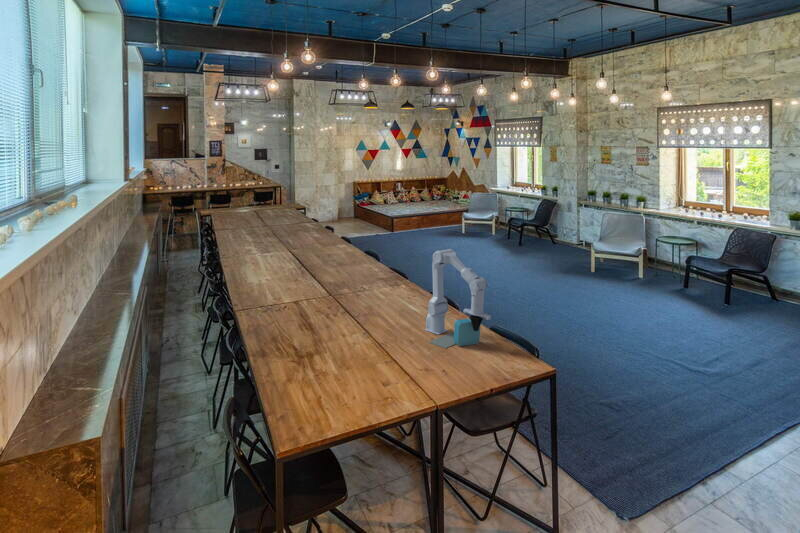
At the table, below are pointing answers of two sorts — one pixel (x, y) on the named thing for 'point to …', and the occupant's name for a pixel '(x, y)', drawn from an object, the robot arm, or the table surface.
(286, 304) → the table surface
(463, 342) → the data package
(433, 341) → the mat
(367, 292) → the table surface
